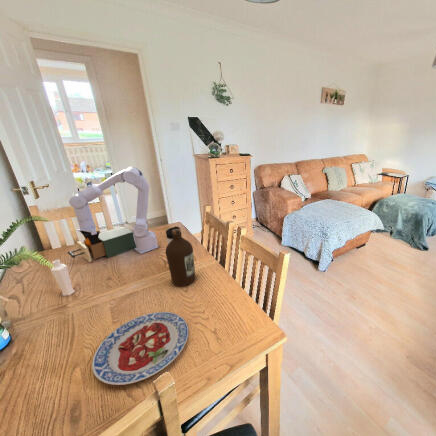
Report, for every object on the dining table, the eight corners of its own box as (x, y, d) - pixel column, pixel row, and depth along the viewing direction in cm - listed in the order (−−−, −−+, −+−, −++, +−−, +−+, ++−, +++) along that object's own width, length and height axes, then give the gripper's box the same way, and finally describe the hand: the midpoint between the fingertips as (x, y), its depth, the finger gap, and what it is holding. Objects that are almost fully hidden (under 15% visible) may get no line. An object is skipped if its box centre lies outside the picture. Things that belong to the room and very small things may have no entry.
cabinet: (107, 257, 121) (103, 241, 117) (98, 250, 127) (93, 234, 123) (136, 247, 131) (132, 231, 128) (126, 241, 137) (122, 226, 134)
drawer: (76, 266, 111) (71, 252, 108) (68, 259, 117) (63, 245, 114) (118, 251, 125) (114, 238, 122) (109, 245, 130) (106, 233, 127)
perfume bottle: (58, 294, 96) (45, 262, 90) (72, 287, 99) (60, 257, 94) (64, 298, 94) (50, 266, 88) (77, 291, 98) (65, 260, 92)
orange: (97, 242, 123) (94, 233, 121) (101, 245, 120) (99, 236, 118) (85, 246, 119) (82, 237, 117) (89, 249, 116) (86, 240, 114)
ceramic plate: (88, 345, 76) (85, 338, 74) (172, 305, 92) (171, 299, 91) (103, 412, 59) (99, 404, 58) (202, 349, 76) (201, 342, 75)
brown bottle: (166, 286, 103) (155, 234, 93) (179, 272, 112) (171, 224, 103) (189, 288, 102) (181, 236, 92) (200, 274, 112) (194, 225, 102)
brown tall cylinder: (188, 262, 120) (183, 226, 112) (181, 270, 114) (175, 232, 106) (176, 261, 120) (170, 225, 113) (169, 269, 114) (162, 231, 107)
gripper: (69, 217, 114) (77, 242, 120) (80, 225, 107) (88, 251, 112) (87, 213, 120) (94, 237, 125) (98, 220, 112) (106, 245, 118)
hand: (92, 243), depth 119 cm, fingers closed on orange, 5 cm apart
